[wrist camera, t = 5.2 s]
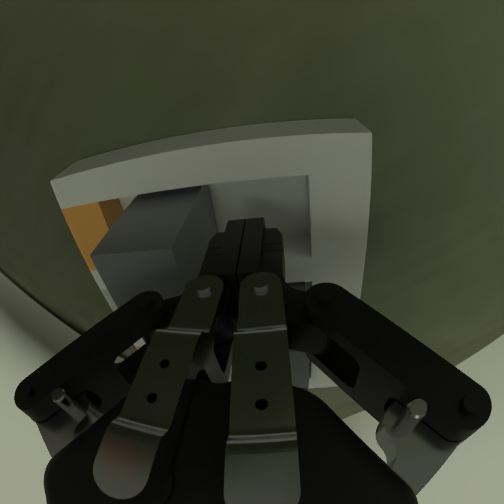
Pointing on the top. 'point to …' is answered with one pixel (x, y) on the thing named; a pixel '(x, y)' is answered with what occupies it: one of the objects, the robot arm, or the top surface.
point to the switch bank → (244, 193)
